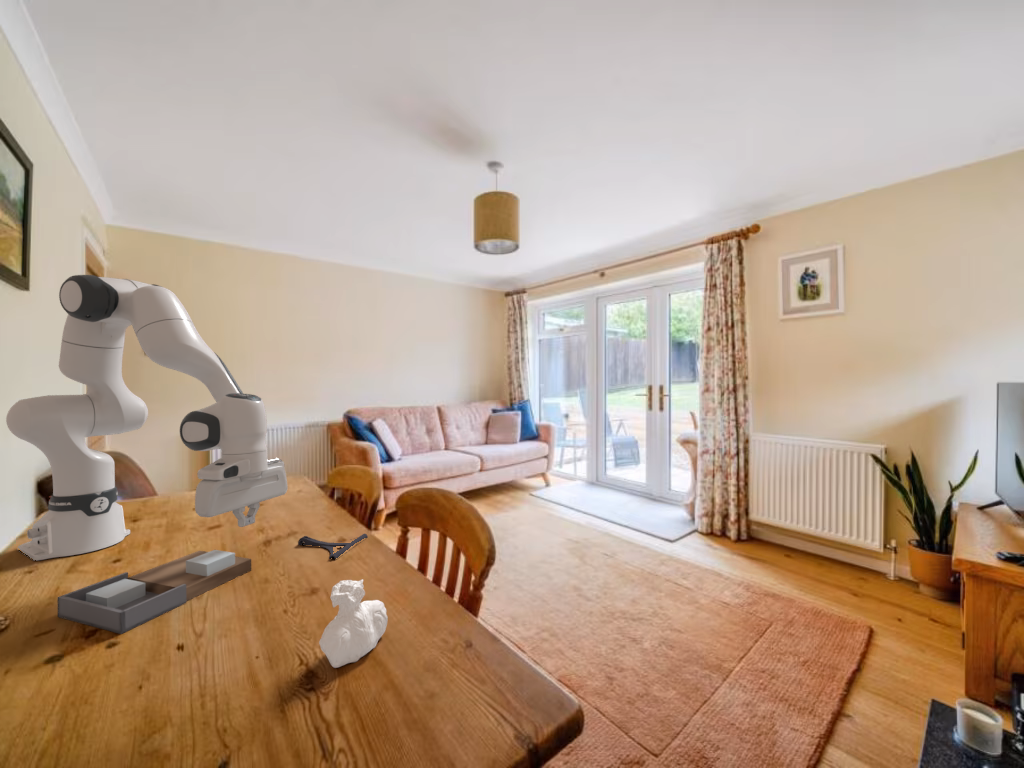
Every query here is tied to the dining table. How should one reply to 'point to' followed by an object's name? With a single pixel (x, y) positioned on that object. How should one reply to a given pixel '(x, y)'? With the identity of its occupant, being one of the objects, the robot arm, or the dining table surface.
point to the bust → (352, 624)
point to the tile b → (210, 562)
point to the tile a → (117, 593)
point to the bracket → (330, 544)
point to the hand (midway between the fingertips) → (246, 524)
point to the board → (188, 576)
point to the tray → (122, 616)
